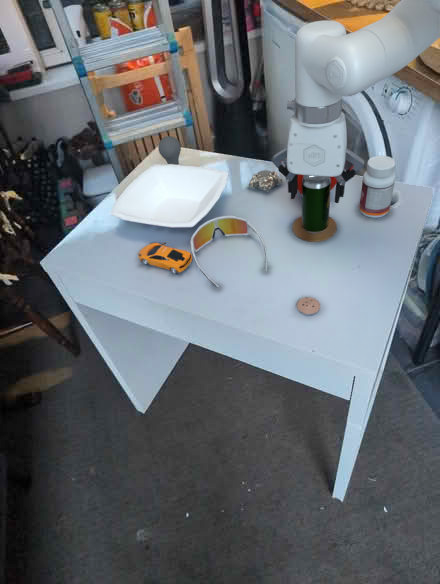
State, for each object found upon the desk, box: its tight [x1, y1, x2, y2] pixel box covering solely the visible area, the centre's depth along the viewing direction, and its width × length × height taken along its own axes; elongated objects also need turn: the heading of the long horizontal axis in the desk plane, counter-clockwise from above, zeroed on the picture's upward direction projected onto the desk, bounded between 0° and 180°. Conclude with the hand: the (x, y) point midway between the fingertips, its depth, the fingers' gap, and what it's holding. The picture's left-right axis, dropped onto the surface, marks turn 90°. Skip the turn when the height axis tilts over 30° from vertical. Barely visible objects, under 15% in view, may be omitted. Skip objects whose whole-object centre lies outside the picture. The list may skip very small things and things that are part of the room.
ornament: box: [248, 169, 283, 192], centre depth 101 cm, size 8×7×4 cm
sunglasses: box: [190, 215, 268, 288], centre depth 86 cm, size 14×15×5 cm
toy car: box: [137, 242, 194, 275], centre depth 88 cm, size 6×12×3 cm, turn 61°
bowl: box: [109, 163, 229, 229], centre depth 98 cm, size 22×23×6 cm
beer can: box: [301, 175, 332, 234], centre depth 86 cm, size 5×5×12 cm
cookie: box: [296, 296, 321, 315], centre depth 75 cm, size 4×4×1 cm
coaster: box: [292, 215, 338, 243], centre depth 90 cm, size 9×9×1 cm
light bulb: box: [157, 135, 182, 165], centre depth 109 cm, size 6×6×10 cm
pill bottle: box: [358, 155, 396, 219], centre depth 88 cm, size 6×6×11 cm
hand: (315, 196), depth 85 cm, fingers open, 7 cm apart
